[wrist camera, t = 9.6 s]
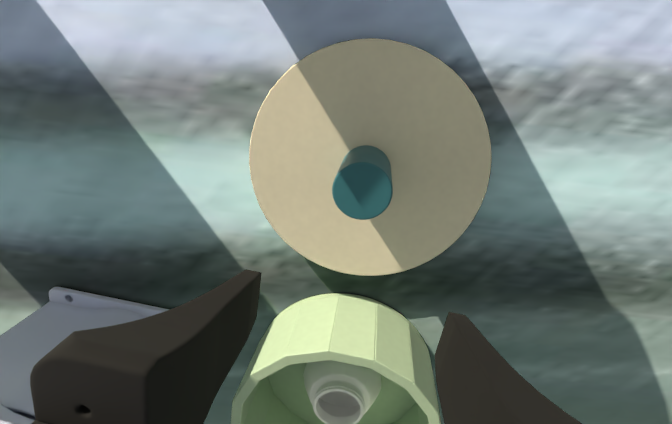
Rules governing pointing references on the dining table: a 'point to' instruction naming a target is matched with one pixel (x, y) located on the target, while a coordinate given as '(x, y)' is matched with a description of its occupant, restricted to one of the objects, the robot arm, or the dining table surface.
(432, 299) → the dining table surface
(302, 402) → the tub
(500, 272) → the dining table surface
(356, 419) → the lidless jar
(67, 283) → the dining table surface
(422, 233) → the tub lid
